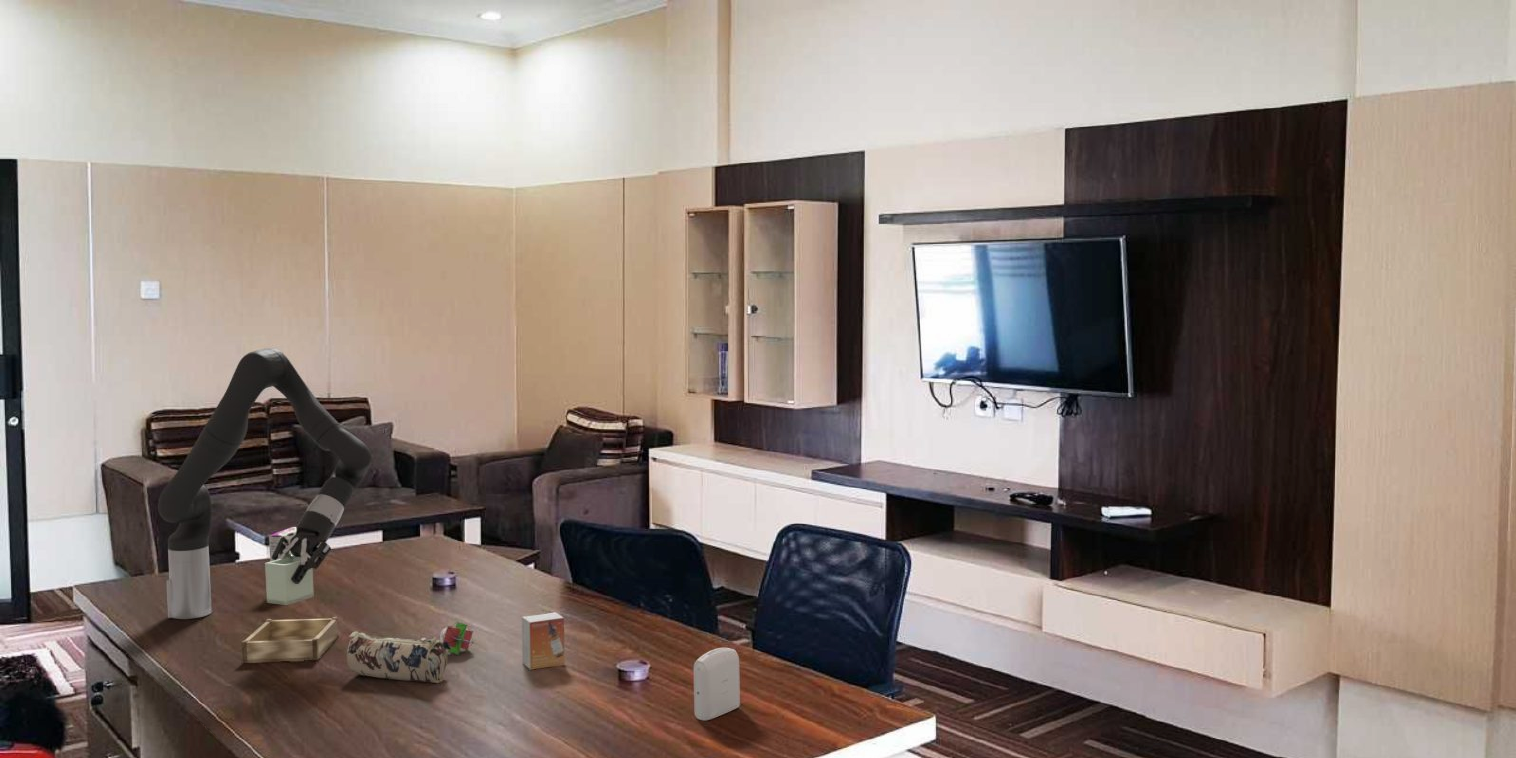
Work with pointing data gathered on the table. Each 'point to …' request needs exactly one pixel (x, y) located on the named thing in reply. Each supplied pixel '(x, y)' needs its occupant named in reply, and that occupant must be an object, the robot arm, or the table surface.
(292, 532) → the candy bar box
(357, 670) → the pencil case
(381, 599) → the table surface
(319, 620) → the wooden tray
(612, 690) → the table surface
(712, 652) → the photo printer
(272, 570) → the box
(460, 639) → the geometric puzzle
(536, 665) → the small box
